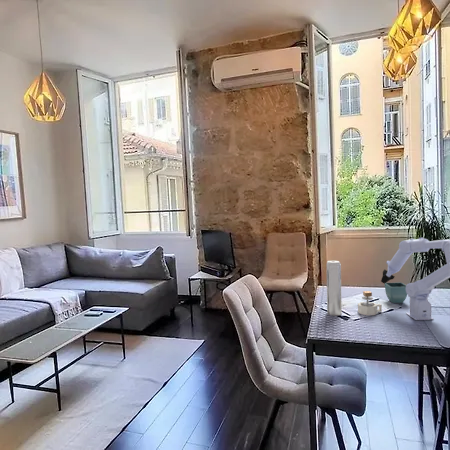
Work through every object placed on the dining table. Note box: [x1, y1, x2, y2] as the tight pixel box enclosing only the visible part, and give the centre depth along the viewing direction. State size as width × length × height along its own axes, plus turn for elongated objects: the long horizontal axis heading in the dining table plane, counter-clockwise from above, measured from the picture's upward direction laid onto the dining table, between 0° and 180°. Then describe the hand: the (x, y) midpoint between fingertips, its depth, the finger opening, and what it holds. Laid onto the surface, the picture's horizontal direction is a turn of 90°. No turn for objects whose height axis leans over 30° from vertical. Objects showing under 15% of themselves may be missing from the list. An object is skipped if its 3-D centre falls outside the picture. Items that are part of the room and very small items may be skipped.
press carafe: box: [357, 301, 383, 316], centre depth 186 cm, size 8×10×4 cm
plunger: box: [361, 290, 374, 306], centre depth 185 cm, size 5×5×6 cm
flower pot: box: [384, 282, 408, 304], centre depth 201 cm, size 9×9×9 cm
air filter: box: [326, 260, 343, 317], centre depth 185 cm, size 6×6×25 cm
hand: (385, 278), depth 195 cm, fingers open, 7 cm apart
